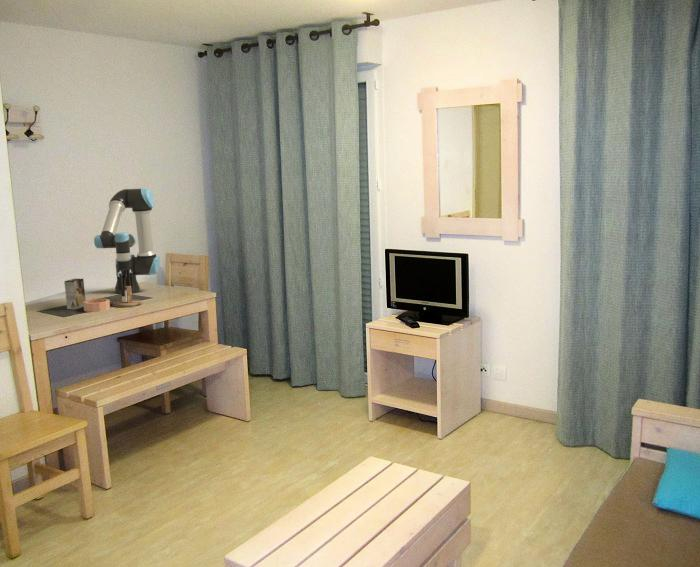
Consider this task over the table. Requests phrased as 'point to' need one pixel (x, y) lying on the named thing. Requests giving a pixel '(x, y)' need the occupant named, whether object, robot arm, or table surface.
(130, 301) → the lid
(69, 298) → the coffee box
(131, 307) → the mat
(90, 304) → the bowl
